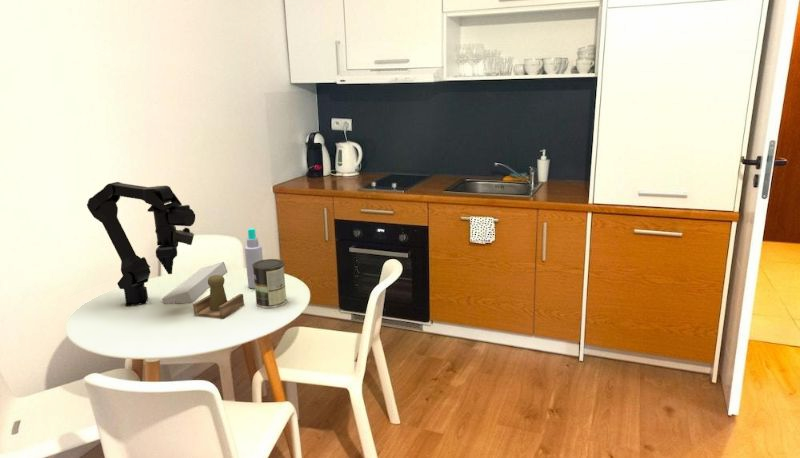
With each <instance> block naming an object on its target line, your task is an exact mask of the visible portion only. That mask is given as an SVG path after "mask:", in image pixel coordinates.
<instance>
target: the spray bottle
mask: <svg viewBox="0 0 800 458" xmlns="http://www.w3.org/2000/svg"><path fill="white" fill-rule="evenodd" d="M247 234H248V235H247V236H248V237H247V238H246V246H244V254H245V266H246V275H247V285H248V288H250V289H251V288H252V289H253V290H255V283H254V272H253V266H252V265H253V264H254V263H255V262H257V261H261V260H264V257H263V249H262V248H263V247H262V245H261V244H259V238H258V237H257V236H256V229H255V228H253V227H252V228H248V229H247Z"/></svg>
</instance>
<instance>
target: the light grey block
mask: <svg viewBox="0 0 800 458" xmlns="http://www.w3.org/2000/svg"><path fill="white" fill-rule="evenodd" d="M227 273H228V269H227V267H226V264H225V262H224V261H221V262H217V263H215V264H212V265H208V266H204V267H201V268H199V269H198V270H197V271H196V272H194V273H193V274H192V275H190V276H189V277H188V278H187V279H185V280H184V281H182V283H180V284H179V285H177V286H176V287H175V288H174V289H172V290H171V291H170V292H168V293H167V294H166V295H164V296H163V297H162V298H161V301H162V302H163V304H179V303H181V304H194V302H196V300H198V299H199V298H200V297H201V296H202V295H203V294H204V293H206V291H207V289H208V288H209V289H210V286H209V284H208V279H209V277H211V276H214V275H221V276H223V277H224V275H226V274H227ZM209 289H208V290H209Z"/></svg>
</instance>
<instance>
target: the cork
mask: <svg viewBox="0 0 800 458" xmlns="http://www.w3.org/2000/svg"><path fill="white" fill-rule="evenodd" d="M208 284H209V286H210V288H209V291H210V292H209V295H210V310H211V311H219V306H221V305H223V304H224V303H226V302H227V301H228V299H227V294H226V290H225V286H224V284H225V277H224V275H223V276H221V275H214V276H211V277H209V279H208Z"/></svg>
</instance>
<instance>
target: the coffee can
mask: <svg viewBox="0 0 800 458" xmlns="http://www.w3.org/2000/svg"><path fill="white" fill-rule="evenodd" d="M252 266H253V272H254V283H255V289H254V291H255V305H256V306H257V307H258V308H261V309H274V308H279V307H282V306H284V305H285V304H286V303H287V301H288V300H287V293H286V292H287V291H286V280H285V279H286V278H285V262H284V260H282V259H278V258H277V259H276V258H268V259H267V258H266V259H263V260H261V261H257V262H255V263H254V264H253V265H252Z"/></svg>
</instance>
